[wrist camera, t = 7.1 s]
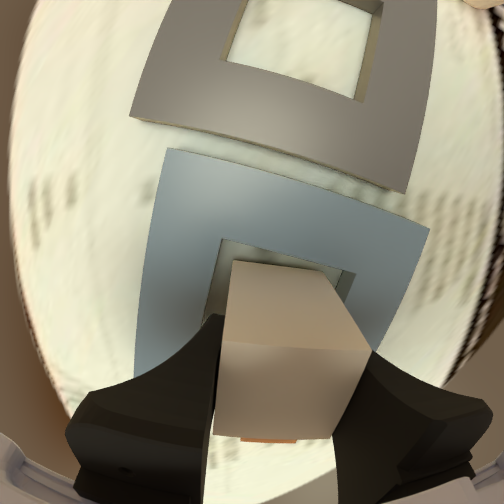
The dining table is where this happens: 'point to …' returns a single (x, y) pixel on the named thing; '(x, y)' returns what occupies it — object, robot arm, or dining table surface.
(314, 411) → the plug
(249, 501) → the dining table surface
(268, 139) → the socket
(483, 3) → the cream tapered cup
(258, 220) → the socket
